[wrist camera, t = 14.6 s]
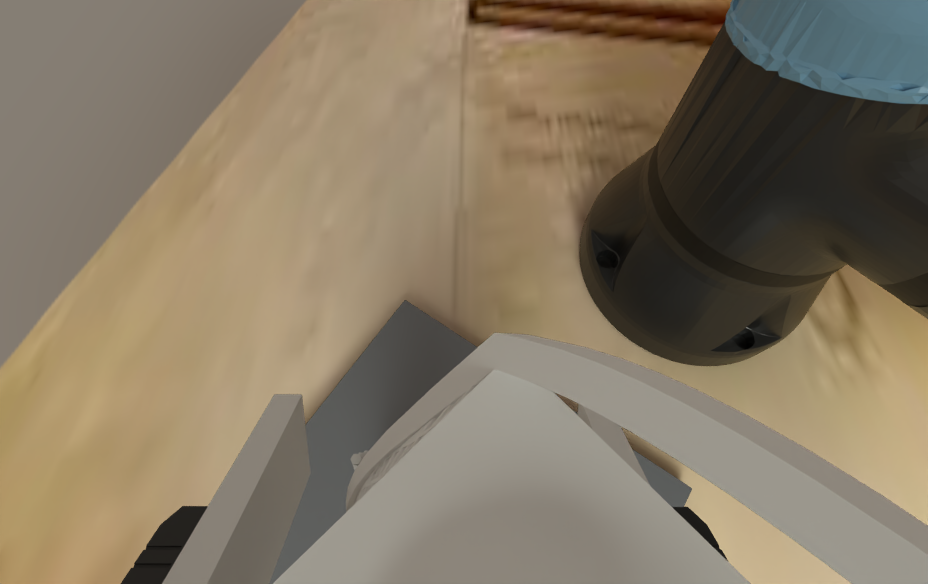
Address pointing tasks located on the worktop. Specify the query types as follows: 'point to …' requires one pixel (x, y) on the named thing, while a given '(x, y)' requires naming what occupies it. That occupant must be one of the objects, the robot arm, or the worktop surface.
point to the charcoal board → (388, 420)
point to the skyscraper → (585, 485)
